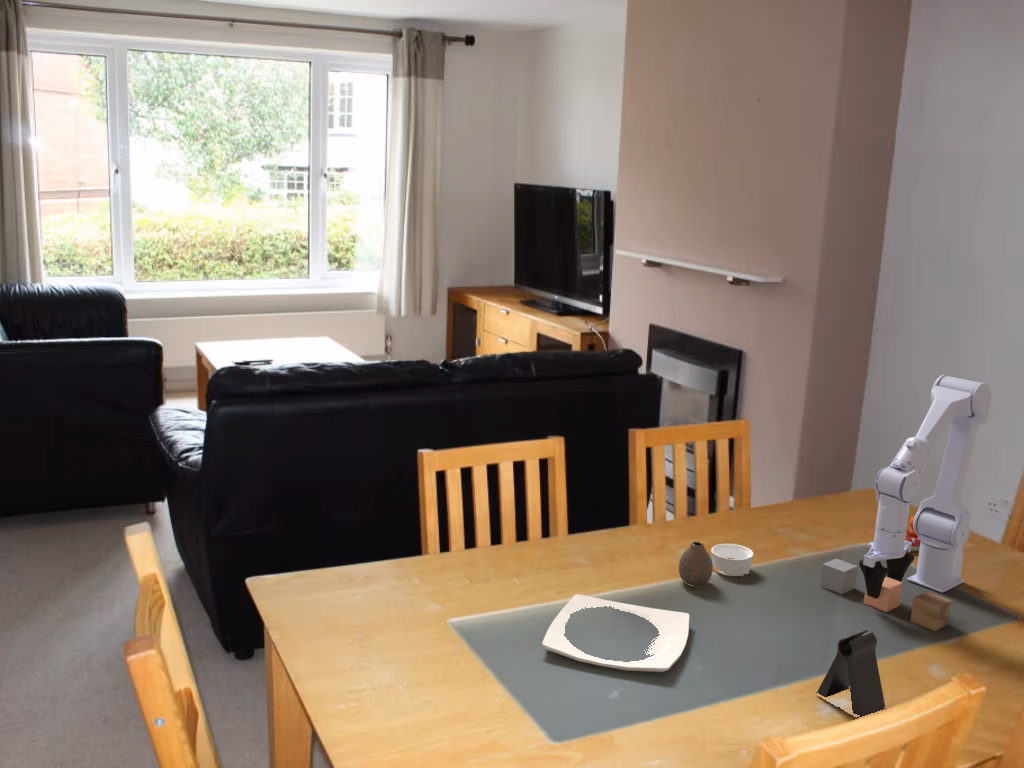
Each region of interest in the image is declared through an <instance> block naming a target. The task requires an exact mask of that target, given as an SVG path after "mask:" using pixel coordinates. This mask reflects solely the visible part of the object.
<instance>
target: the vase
mask: <svg viewBox="0 0 1024 768" xmlns="http://www.w3.org/2000/svg"><path fill="white" fill-rule="evenodd" d="M713 570H714V569H713V564H712V556H711V555H710V553H709V552H708V550H707V549H706V547H705V545H704V543H703V542H701V541H692V542H691V544H690V545H689V546H688V548H687V549H685V551H683V552H682V554H681V556H680V559H679V562H678V573H679V576H680V578H681V581H682V582H683V581H684V582H686V583H687V584H690V585H693V586H701V587H703V586H702V585H704V586H705V585H707V583H708V582H709V581H710V580H711V578H712V575H713ZM684 582H683V583H684ZM687 584H686V585H687Z"/></svg>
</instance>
